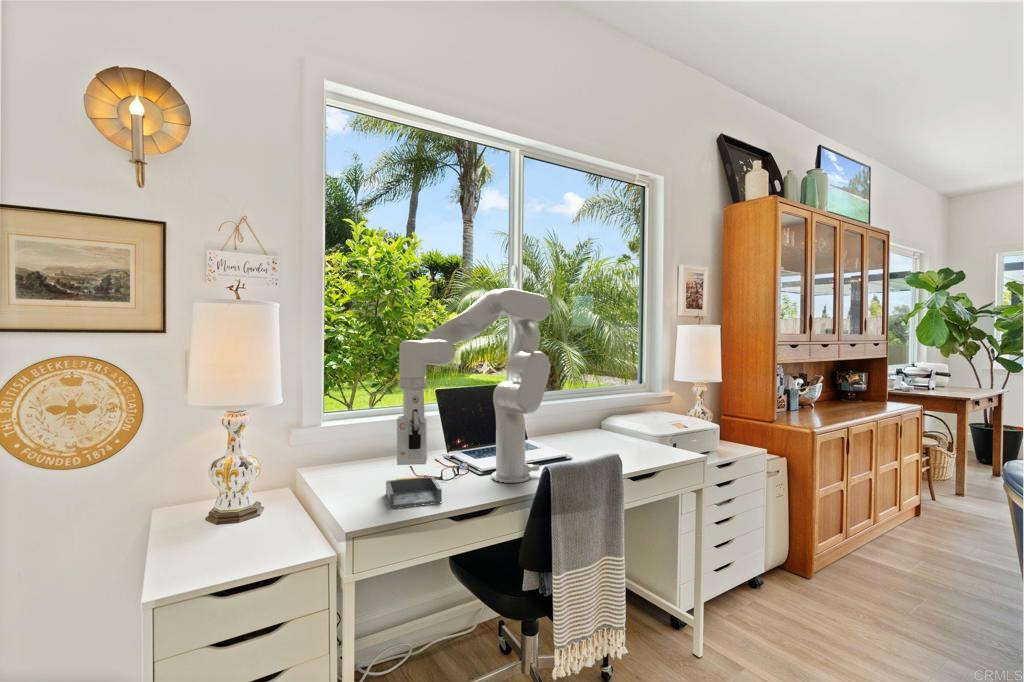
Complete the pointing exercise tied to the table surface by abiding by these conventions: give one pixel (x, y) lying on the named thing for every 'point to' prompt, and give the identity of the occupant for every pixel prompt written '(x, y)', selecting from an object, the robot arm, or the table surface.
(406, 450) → the small box
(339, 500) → the table surface
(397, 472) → the table surface
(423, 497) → the cradle
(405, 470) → the table surface
